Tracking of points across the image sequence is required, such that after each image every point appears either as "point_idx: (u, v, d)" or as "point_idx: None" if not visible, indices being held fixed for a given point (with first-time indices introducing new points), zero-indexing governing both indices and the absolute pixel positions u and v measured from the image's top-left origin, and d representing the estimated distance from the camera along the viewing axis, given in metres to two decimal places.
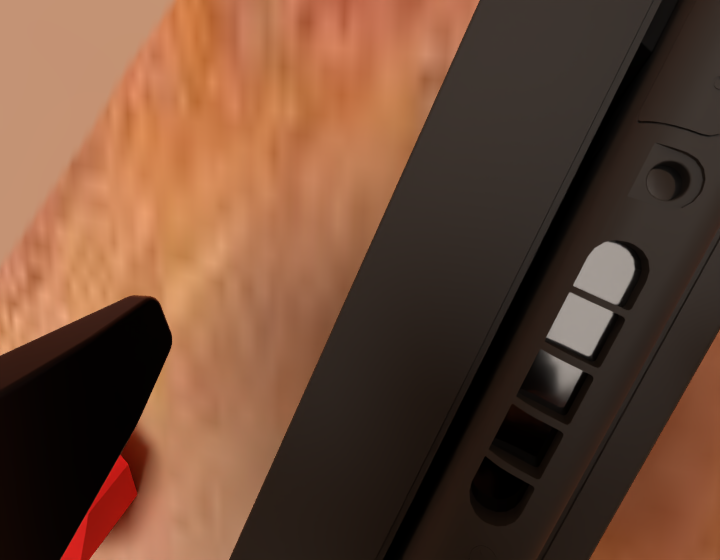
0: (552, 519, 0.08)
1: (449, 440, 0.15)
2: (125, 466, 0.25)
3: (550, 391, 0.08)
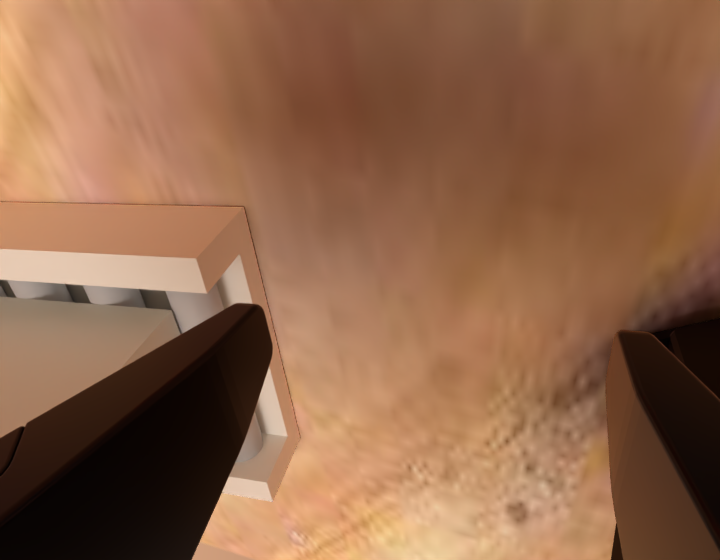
0: None
1: None
2: None
3: None
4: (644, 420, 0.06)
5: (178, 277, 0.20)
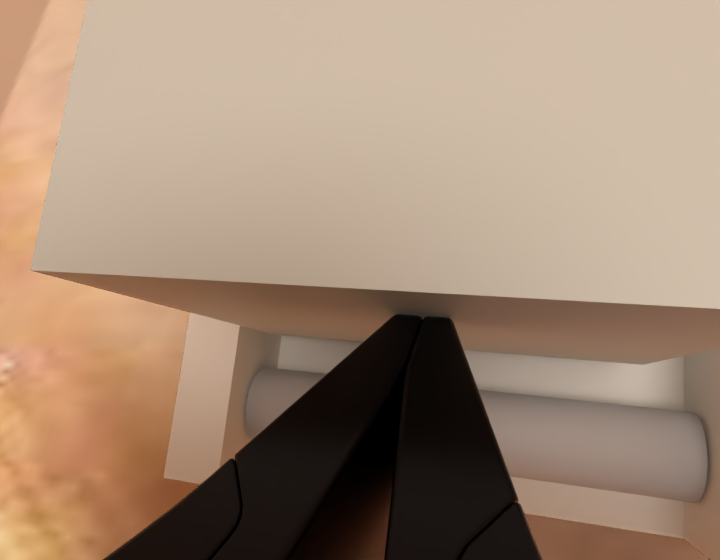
0: None
1: None
2: None
3: None
4: None
5: None
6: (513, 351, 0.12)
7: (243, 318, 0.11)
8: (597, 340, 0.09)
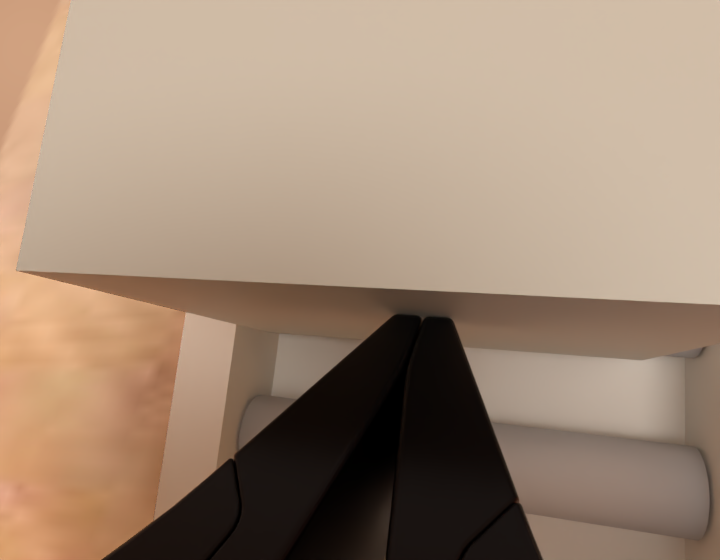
0: None
1: None
2: None
3: None
4: None
5: None
6: (510, 348, 0.12)
7: (237, 317, 0.11)
8: (594, 336, 0.08)
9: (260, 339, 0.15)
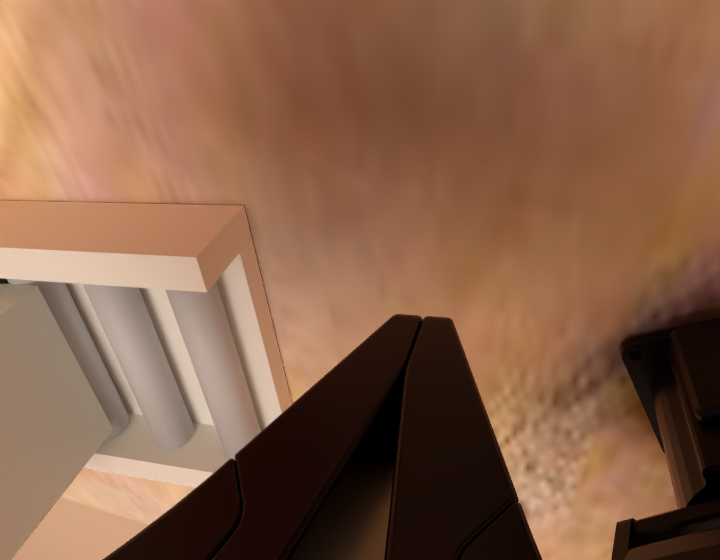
0: None
1: None
2: None
3: None
4: None
5: (178, 276, 0.20)
6: (51, 349, 0.24)
7: (56, 478, 0.25)
8: None
9: (131, 433, 0.30)
